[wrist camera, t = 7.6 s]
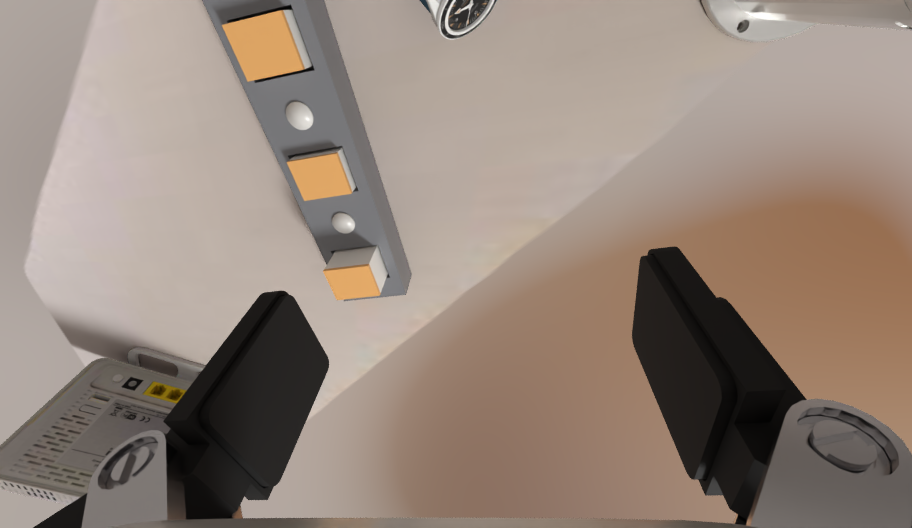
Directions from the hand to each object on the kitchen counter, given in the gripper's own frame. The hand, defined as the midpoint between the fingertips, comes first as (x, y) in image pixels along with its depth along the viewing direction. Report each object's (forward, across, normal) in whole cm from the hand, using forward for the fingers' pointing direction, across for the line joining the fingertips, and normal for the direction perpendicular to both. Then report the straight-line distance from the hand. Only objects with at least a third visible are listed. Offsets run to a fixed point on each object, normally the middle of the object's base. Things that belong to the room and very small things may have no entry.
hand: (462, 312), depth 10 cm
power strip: (+30, +16, +4) cm, 34 cm away
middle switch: (+30, +16, +4) cm, 34 cm away
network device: (+31, +56, +36) cm, 73 cm away
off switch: (+27, +16, +15) cm, 35 cm away
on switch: (+29, +16, -7) cm, 34 cm away
